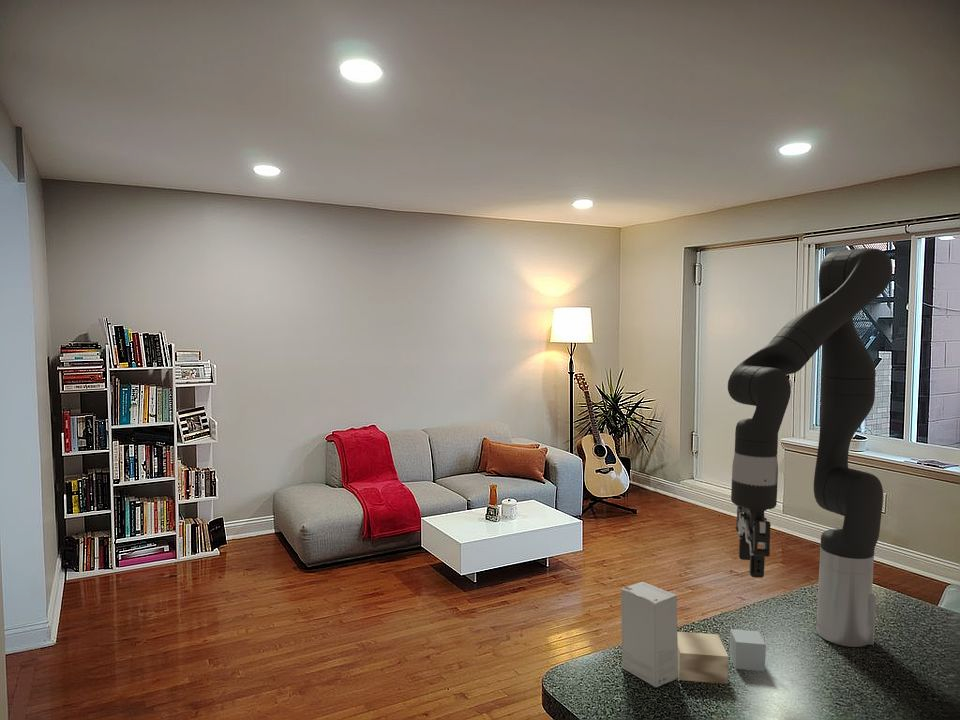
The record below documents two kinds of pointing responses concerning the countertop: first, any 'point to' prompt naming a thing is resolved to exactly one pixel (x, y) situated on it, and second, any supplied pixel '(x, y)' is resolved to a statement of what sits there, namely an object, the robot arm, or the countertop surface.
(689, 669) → the birch block
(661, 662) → the skincare box
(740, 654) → the grey-blue cube
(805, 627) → the countertop surface
